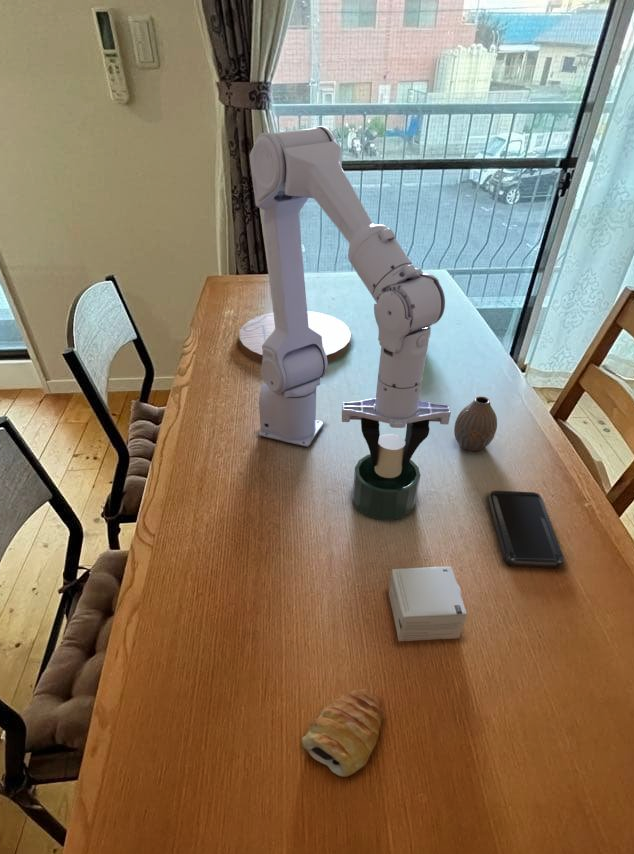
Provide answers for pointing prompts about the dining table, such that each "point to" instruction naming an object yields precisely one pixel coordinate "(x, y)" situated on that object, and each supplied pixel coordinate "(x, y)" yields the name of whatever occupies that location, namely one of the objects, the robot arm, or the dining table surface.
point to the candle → (390, 455)
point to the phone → (524, 530)
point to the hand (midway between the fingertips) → (388, 462)
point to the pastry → (345, 732)
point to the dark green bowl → (385, 491)
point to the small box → (426, 603)
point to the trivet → (327, 326)
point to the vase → (476, 425)
